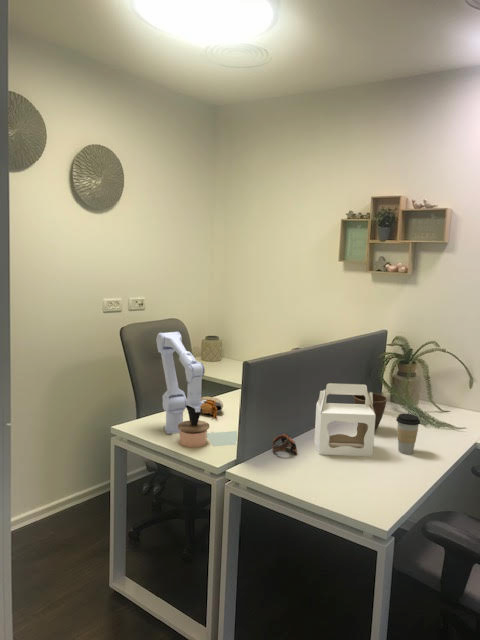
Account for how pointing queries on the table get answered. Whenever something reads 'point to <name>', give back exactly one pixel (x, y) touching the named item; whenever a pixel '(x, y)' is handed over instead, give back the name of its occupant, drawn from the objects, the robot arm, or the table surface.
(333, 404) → the gable box
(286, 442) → the brown openwork dome
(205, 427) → the walnut lid
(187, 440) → the terracotta bowl
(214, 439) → the rubber mat
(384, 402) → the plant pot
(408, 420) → the coffee cup
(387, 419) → the table surface
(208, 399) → the nautilus
